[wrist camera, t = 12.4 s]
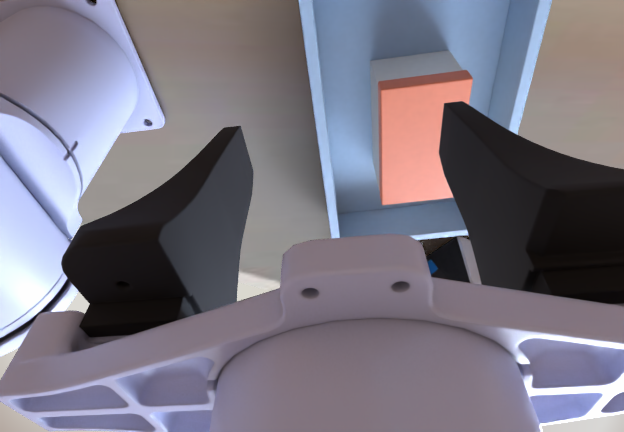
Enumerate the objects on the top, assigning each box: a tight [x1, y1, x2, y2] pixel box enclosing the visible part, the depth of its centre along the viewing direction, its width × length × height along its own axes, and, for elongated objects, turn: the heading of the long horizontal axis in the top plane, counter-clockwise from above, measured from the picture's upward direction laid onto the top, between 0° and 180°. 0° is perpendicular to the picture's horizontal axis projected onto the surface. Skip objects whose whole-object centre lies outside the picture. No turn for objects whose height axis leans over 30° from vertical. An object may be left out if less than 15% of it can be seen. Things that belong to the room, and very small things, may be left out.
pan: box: [298, 0, 552, 240], centre depth 24 cm, size 11×17×4 cm, turn 7°
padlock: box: [426, 236, 482, 285], centre depth 30 cm, size 7×4×15 cm, turn 149°
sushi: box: [370, 50, 473, 205], centre depth 23 cm, size 4×8×4 cm, turn 7°
